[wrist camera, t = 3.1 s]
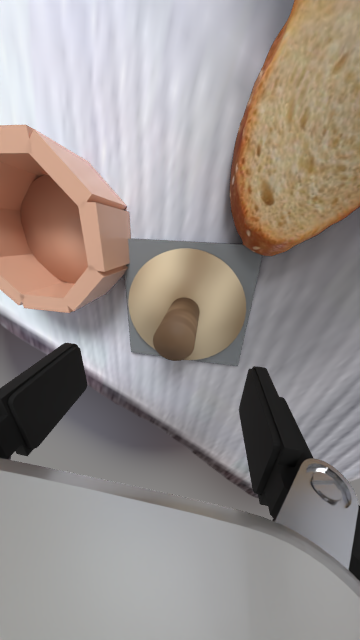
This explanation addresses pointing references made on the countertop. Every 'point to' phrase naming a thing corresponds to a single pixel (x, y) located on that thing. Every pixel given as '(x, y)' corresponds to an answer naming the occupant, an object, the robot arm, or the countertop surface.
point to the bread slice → (301, 131)
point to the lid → (187, 304)
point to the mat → (232, 254)
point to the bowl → (56, 225)
